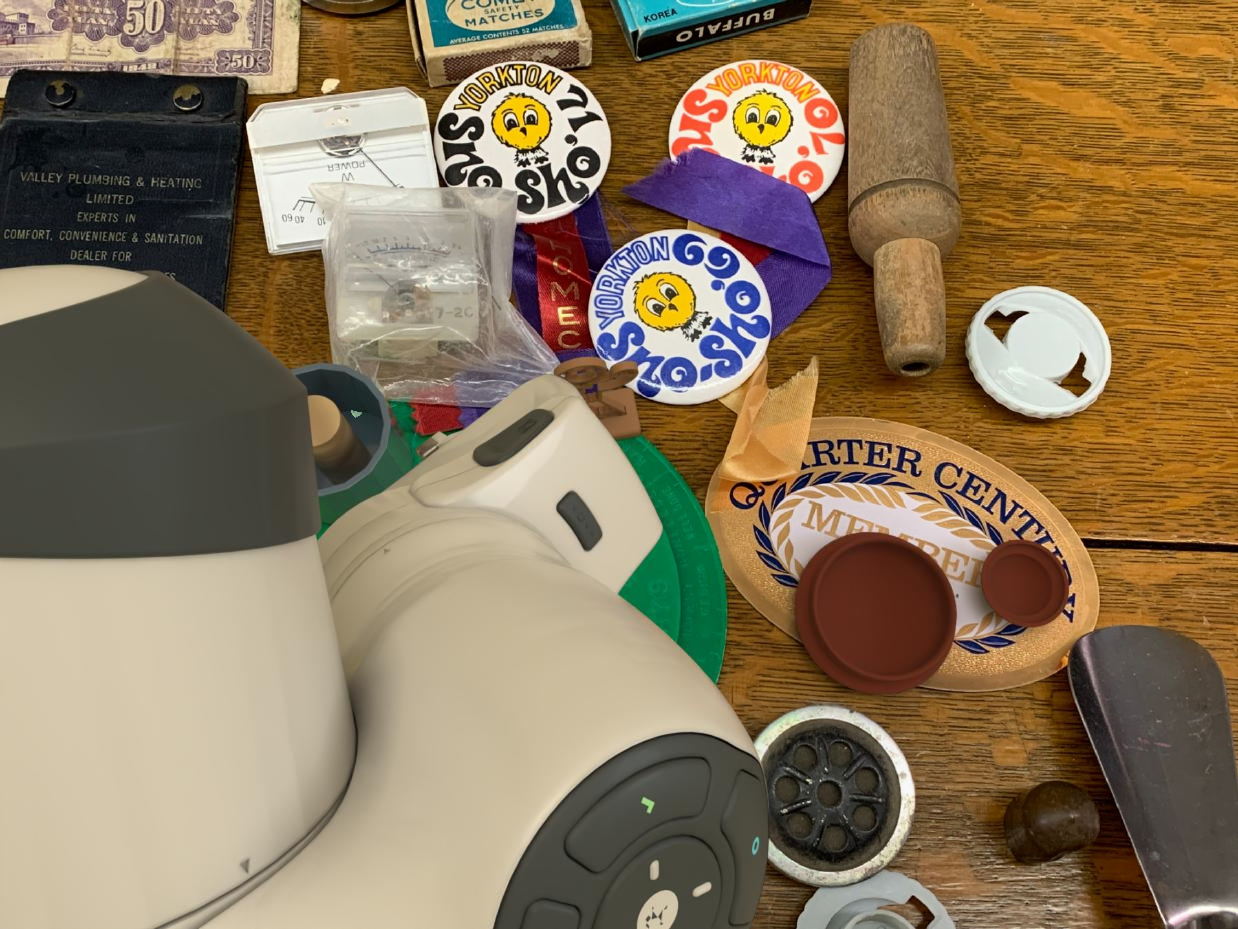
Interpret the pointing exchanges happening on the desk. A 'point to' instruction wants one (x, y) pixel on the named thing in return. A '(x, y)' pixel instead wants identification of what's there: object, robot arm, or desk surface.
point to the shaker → (335, 442)
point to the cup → (371, 427)
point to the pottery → (909, 606)
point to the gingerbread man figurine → (606, 392)
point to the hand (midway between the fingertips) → (354, 515)
